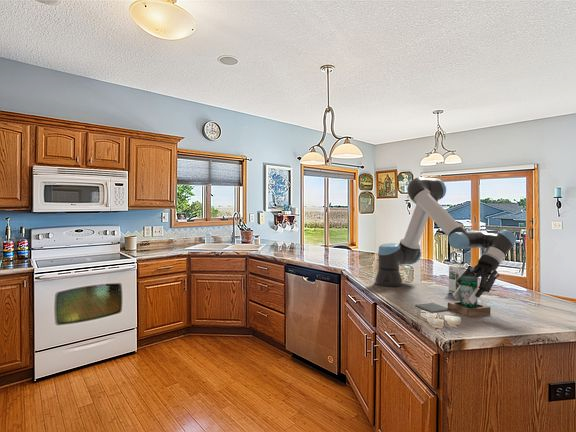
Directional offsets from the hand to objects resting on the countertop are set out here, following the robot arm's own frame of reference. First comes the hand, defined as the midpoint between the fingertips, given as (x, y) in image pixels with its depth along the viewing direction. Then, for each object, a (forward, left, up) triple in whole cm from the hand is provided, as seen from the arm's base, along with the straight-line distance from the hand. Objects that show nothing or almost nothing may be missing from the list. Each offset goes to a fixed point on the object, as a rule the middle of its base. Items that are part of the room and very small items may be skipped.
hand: (462, 299), depth 139 cm
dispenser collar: (0, +3, -6) cm, 7 cm away
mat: (-9, -8, -6) cm, 13 cm away
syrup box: (-25, +24, -6) cm, 35 cm away
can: (0, +3, -6) cm, 7 cm away
